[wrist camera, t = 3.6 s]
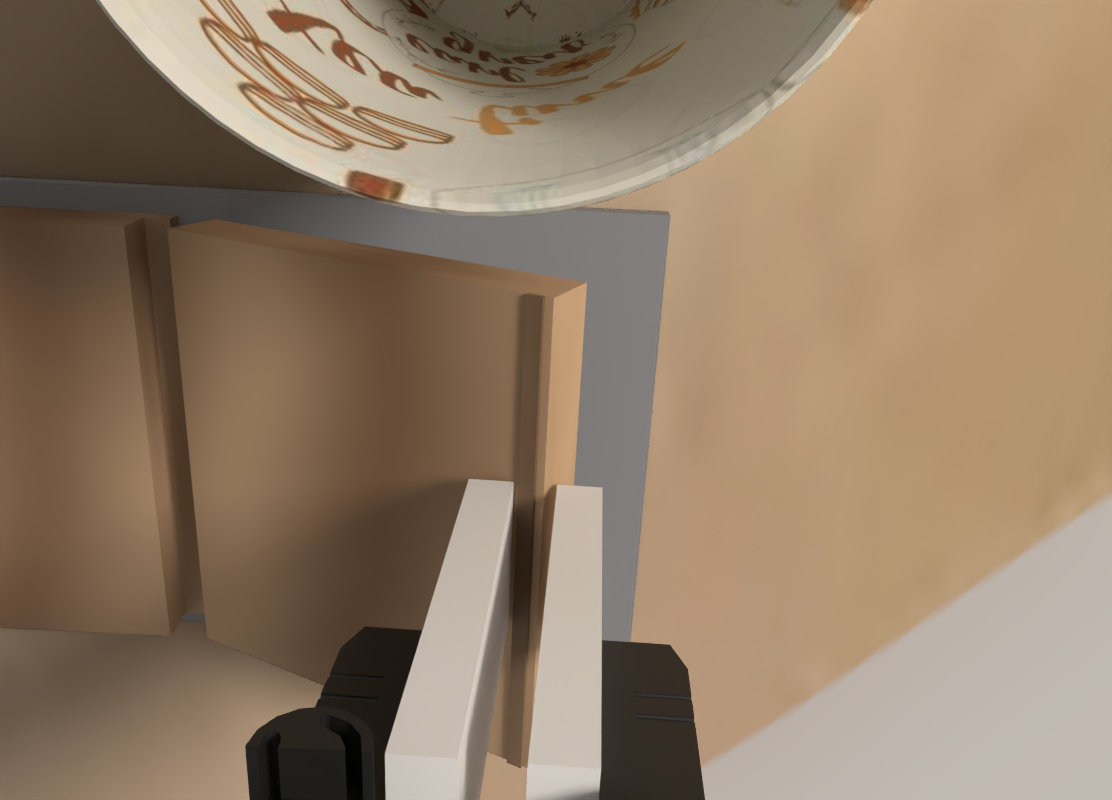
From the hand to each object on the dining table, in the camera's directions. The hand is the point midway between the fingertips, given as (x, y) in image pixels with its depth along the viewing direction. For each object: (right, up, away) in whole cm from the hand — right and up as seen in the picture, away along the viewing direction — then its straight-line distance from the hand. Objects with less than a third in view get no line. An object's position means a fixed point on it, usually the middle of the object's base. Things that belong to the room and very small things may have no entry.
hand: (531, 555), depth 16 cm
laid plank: (-11, +2, +4) cm, 12 cm away
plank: (-3, +1, +2) cm, 4 cm away
